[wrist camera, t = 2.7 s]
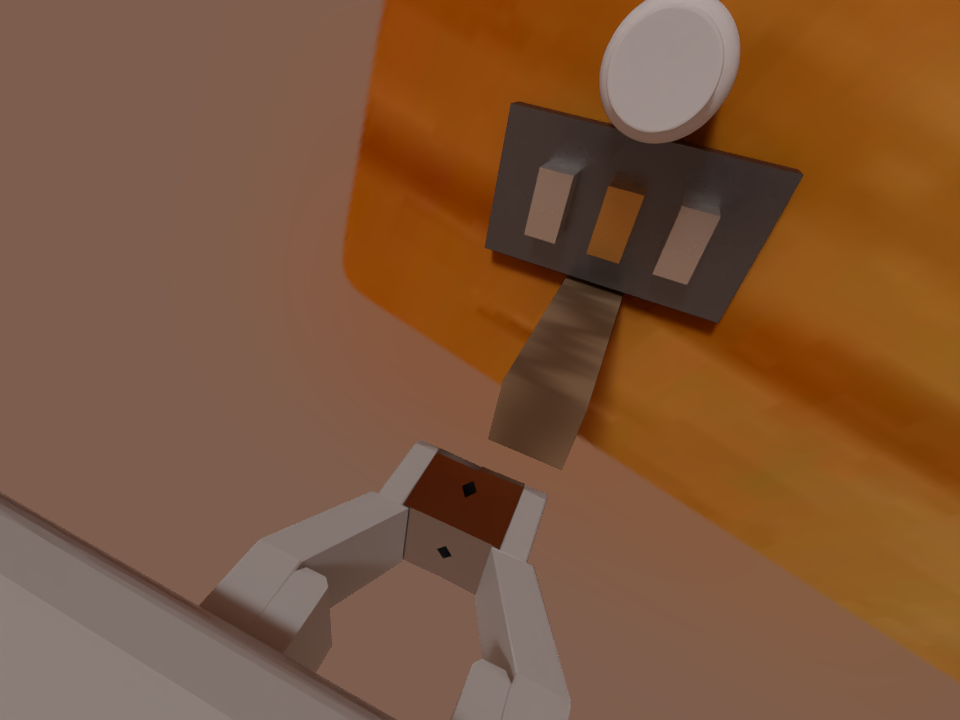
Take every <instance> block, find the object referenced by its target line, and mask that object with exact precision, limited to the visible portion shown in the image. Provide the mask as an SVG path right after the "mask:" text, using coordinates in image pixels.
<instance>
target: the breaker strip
mask: <svg viewBox="0 0 960 720" xmlns="http://www.w3.org/2000/svg"><path fill="white" fill-rule="evenodd" d="M802 177H803V174H802V173H801V172H800V171H799V170H798V169H794V168H789V167H785V166H781V165H777V164H773V163H769V162H765V161H761V160H757V159H753V158H748V157H744V156H740V155H736V154H732V153H728V152H724V151H720V150H716V149H712V148H707V147H703V146H699V145H695V144H691V143H687V142H683V141H679V140H675V141H672V142H667V143H659V144H652V143H644V142H639V141H636V140H634V139H631V138H629V137H628V136H626V135H624V134H623V133H622V132H620V131H619V130H618V129H617V128H616V127H615V126H614V125H613V124H609V123H605V122H601V121H597V120H593V119H589V118H584V117H580V116H576V115H572V114H568V113H564V112H560V111H556V110H552V109H548V108H543V107H539V106H535V105H531V104H527V103H523V102H514V103H511V106H510V111H509V117H508V122H507V128H506V133H505V139H504V144H503V150H502V155H501V161H500V166H499V172H498V177H497V183H496V188H495V194H494V199H493V205H492V210H491V216H490V221H489V227H488V232H487V238H486V243H485V248H487V249H490V250H493V251H496V252H499V253H503V254H506V255H509V256H512V257H515V258H518V259H521V260H524V261H527V262H530V263H533V264H537V265H540V266H543V267H546V268H549V269H552V270H555V271H558V272H561V273H564V274H568V275H571V276H574V277H577V278H580V279H583V280H586V281H589V282H592V283H595V284H598V285H602V286H605V287H608V288H611V289H614V290H617V291H620V292H623V293H626V294H629V295H633V296H636V297H639V298H642V299H645V300H648V301H651V302H654V303H657V304H660V305H663V306H667V307H670V308H673V309H676V310H679V311H682V312H685V313H688V314H691V315H694V316H698V317H701V318H704V319H707V320H710V321H713V322H716V323H719V321H720V319H721V317H722V316H723V314H724V312H725V310H726V309H727V307H728V305H729V304H730V302H731V300H732V298H733V297H734V295H735V293H736V291H737V290H738V288H739V286H740V284H741V283H742V281H743V279H744V278H745V276H746V274H747V272H748V271H749V269H750V267H751V265H752V264H753V262H754V260H755V258H756V257H757V255H758V253H759V251H760V250H761V248H762V246H763V245H764V243H765V241H766V239H767V238H768V236H769V234H770V232H771V231H772V229H773V227H774V225H775V224H776V222H777V220H778V219H779V217H780V215H781V213H782V212H783V210H784V208H785V206H786V205H787V203H788V201H789V199H790V198H791V196H792V194H793V193H794V191H795V189H796V187H797V186H798V184H799V182H800V180H801V179H802Z"/></svg>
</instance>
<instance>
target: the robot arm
mask: <svg viewBox="0 0 960 720" xmlns="http://www.w3.org/2000/svg"><path fill="white" fill-rule="evenodd" d="M524 485H525V484H524V483H521V482H518V481H516V480H514V479H511V478H509V477H507V476H504V475H502V474H499V473H496V472H494V471H492V470H489V469H487V468H485V467H480V466H478V465H476V464H474V463H471V462H469V461H467V460H465V459H462V458H461V457H458V456H456V455H454V454H452V453H450V452H447V451H445V450H443V449H441V448H438V447H436V446H434V445H432V444H429V443H427V442H425V441H423V440H419V441H418V442H416V443H415V444H414V445H413V447H412V448H411V449H410V451H409V452H408V454H407V455H406V456H405V458H404V459H403V460H402V462H401V463H400V465H399V466H398V467H397V469H396V470H395V471H394V473H393V474H392V476H391V477H390V478H389V480H388V481H387V483H386V484H385V485H384V486H383V488H382V489H381V491H380V492H379V493H376V492H373V491H371V492H369V493H366V494H364V495H362V496H359V497H357V498H355V499H353V500H350V501H348V502H345V503H343V504H341V505H338V506H336V507H334V508H331V509H329V510H327V511H325V512H322V513H320V514H318V515H315V516H313V517H311V518H308V519H306V520H304V521H301V522H299V523H297V524H294V525H292V526H290V527H287V528H285V529H283V530H280V531H279V532H276V533H274V534H271V535H269V536H267V537H264V538H262V539H260V540H258V542H257V543H256V544H255V545H254V546H253V547H252V548H251V549H250V551H248V553H247V554H246V555H245V556H244V557H243V558H242V559H241V560H240V561H239V562H238V563H237V565H236V566H235V567H234V568H233V569H232V570H231V571H230V572H229V573H228V574H227V576H226V577H225V578H224V579H223V580H222V581H221V582H220V583H219V584H218V585H217V586H216V587H215V588H214V590H213V591H212V592H211V593H210V594H209V595H208V596H207V597H206V598H205V599H204V601H203V602H202V603H201V604H200V605H199V606H198V605H196V604H195V603H193V602H191V601H189V600H188V599H186V598H184V597H182V596H181V595H179V594H177V593H175V592H174V591H172V590H170V589H168V588H167V587H165V586H163V585H162V584H160V583H158V582H156V581H155V580H153V579H151V578H149V577H148V576H146V575H144V574H142V573H141V572H139V571H137V570H135V569H134V568H132V567H130V566H128V565H127V564H125V563H123V562H122V561H120V560H118V559H116V558H114V557H113V556H111V555H109V554H108V553H106V552H104V551H102V550H100V549H99V548H97V547H95V546H93V545H92V544H90V543H88V542H87V541H85V540H83V539H81V538H80V537H78V536H76V535H75V534H73V533H71V532H69V531H68V530H66V529H64V528H62V527H60V526H59V525H57V524H55V523H54V522H52V521H50V520H48V519H47V518H45V517H43V516H41V515H40V514H38V513H36V512H34V511H33V510H31V509H29V508H28V507H26V506H24V505H22V504H21V503H19V502H17V501H15V500H13V499H12V498H10V497H8V496H7V495H5V494H3V493H1V492H0V720H397V719H395V718H393V717H391V716H389V715H388V714H386V713H384V712H383V711H381V710H379V709H377V708H376V707H374V706H372V705H370V704H369V703H367V702H365V701H364V700H362V699H360V698H358V697H357V696H355V695H353V694H351V693H350V692H348V691H346V690H344V689H343V688H341V687H339V686H337V685H336V684H334V683H332V682H330V681H329V680H327V679H325V678H323V677H322V676H320V675H318V674H317V673H316V672H317V670H318V668H319V666H320V665H321V663H322V662H323V660H324V658H325V656H326V655H327V653H328V651H329V650H330V648H331V646H332V639H331V622H330V608H331V607H333V606H334V605H336V604H337V603H339V602H340V601H342V600H343V599H345V598H347V597H348V596H350V595H351V594H353V593H354V592H355V591H357V590H359V589H360V588H362V587H363V586H365V585H367V584H368V583H369V582H371V581H373V580H374V579H376V578H377V577H379V576H380V575H382V574H384V573H385V572H387V571H388V570H390V569H391V568H393V567H394V566H396V565H398V564H399V563H401V562H402V559H404V560H406V561H408V562H410V563H413V564H415V565H417V566H419V567H421V568H423V569H426V570H428V571H430V572H432V573H435V574H436V575H439V576H441V577H442V578H444V579H446V580H448V581H450V582H452V583H454V584H456V585H458V586H460V587H462V588H463V589H465V590H467V591H469V592H471V593H473V594H475V595H476V596H475V601H476V610H477V619H478V627H479V635H480V645H481V654H482V659H481V660H479V661H477V662H475V663H473V665H472V667H471V670H470V672H469V674H468V677H467V679H466V682H465V684H464V686H463V689H462V691H461V694H460V696H459V699H458V701H457V704H456V706H455V708H454V711H453V713H452V716H451V719H450V720H568V717H569V712H570V706H571V701H570V697H569V693H568V690H567V686H566V682H565V679H564V675H563V671H562V667H561V664H560V660H559V656H558V653H557V649H556V645H555V642H554V638H553V635H552V631H551V627H550V623H549V620H548V616H547V613H546V609H545V605H544V602H543V598H542V594H541V591H540V587H539V583H538V579H537V576H536V572H535V568H534V566H533V565H531V564H529V563H527V561H528V558H529V555H530V552H531V549H532V545H533V542H534V539H535V536H536V533H537V530H538V527H539V524H540V521H541V517H542V514H543V511H544V508H545V505H546V502H547V499H548V494H546V493H544V492H541V491H539V490H537V489H534V488H532V487H530V486H527V485H525V486H524ZM523 488H524V489H523ZM522 491H523V492H522Z"/></svg>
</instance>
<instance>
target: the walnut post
mask: <svg viewBox="0 0 960 720" xmlns="http://www.w3.org/2000/svg"><path fill="white" fill-rule="evenodd" d="M623 294H624V293H623V292H620V291H617V290H614V289H611V288H608V287H605V286H602V285H598V284H595V283H592V282H589V281H586V280H583V279H580V278H577V277H574V276H571V275H567V277H566V278H565V280H564V282H563V283H562V285H561V287H560V288H559V290H558V291H557V293H556V295H555V296H554V298H553V300H552V301H551V303H550V305H549V306H548V308H547V309H546V311H545V313H544V314H543V316H542V318H541V319H540V321H539V322H538V324H537V326H536V327H535V329H534V331H533V332H532V334H531V336H530V337H529V339H528V340H527V342H526V344H525V345H524V347H523V349H522V350H521V352H520V354H519V355H518V357H517V358H516V360H515V362H514V363H513V365H512V367H511V368H510V370H509V372H508V373H507V375H506V376H505V378H504V380H503V383H502V387H501V391H500V394H499V398H498V402H497V406H496V410H495V414H494V418H493V422H492V426H491V430H490V433H489V438H488V439H489V440H492V441H494V442H496V443H499V444H501V445H503V446H506V447H508V448H511V449H513V450H515V451H518V452H520V453H523V454H525V455H527V456H529V457H532V458H535V459H537V460H539V461H542V462H544V463H546V464H548V465H551V466H553V467H556V468H558V469H561V470H562V468H563V466H564V463H565V461H566V459H567V456H568V454H569V452H570V449H571V447H572V445H573V442H574V440H575V438H576V435H577V433H578V430H579V428H580V426H581V423H582V421H583V419H584V416H585V414H586V411H587V408H588V405H589V402H590V399H591V396H592V392H593V389H594V386H595V383H596V380H597V376H598V373H599V370H600V367H601V364H602V360H603V357H604V354H605V351H606V348H607V345H608V341H609V338H610V335H611V332H612V329H613V325H614V322H615V319H616V316H617V313H618V309H619V306H620V303H621V300H622V297H623Z"/></svg>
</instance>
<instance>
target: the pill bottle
mask: <svg viewBox="0 0 960 720" xmlns="http://www.w3.org/2000/svg"><path fill="white" fill-rule="evenodd" d="M739 60H740V40H739V35H738V30H737V27H736V24H735V22H734V20H733V18H732V16H731V14H730V13H729V11H728V10H727V9H726V7H725V6H724V5H723V4H722V3H721V2H720V1H719V0H646V1H644V2H643V3H641V4H640V5H639V6H638V7H636V8H635V9H634V10H633V11H632V12H631V13H630V14H629V15H628V16H627V17H626V18H625V19H624V20H623V21H622V23H621V24H620V25H619V27H618V28H617V29H616V31H615V33H614V34H613V36H612V38H611V40H610V42H609V44H608V46H607V48H606V51H605V54H604V57H603V60H602V64H601V69H600V79H599V85H600V96H601V100H602V104H603V107H604V110H605V112H606V114H607V116H608V118H609V119H610V121H611V122H612V123H613V125H614V126H615V127H616V128H617V129H618V130H619V131H620V132H622V133H623V134H624V135H626V136H628V137H629V138H631V139H634V140H636V141H639V142H644V143H652V144H659V143H667V142H672V141H675V140H678V139H681V138H683V137H685V136H687V135H689V134H691V133H693V132H694V131H696V130H697V129H699V128H700V127H701V126H703V125H704V124H705V123H706V122H707V121H708V120H709V119H710V118H711V117H712V116H713V115H714V114H715V113H716V112H717V110H718V109H719V108H720V106H721V105H722V104H723V102H724V100H725V99H726V97H727V96H728V94H729V92H730V90H731V88H732V86H733V83H734V81H735V78H736V75H737V71H738V67H739Z"/></svg>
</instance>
